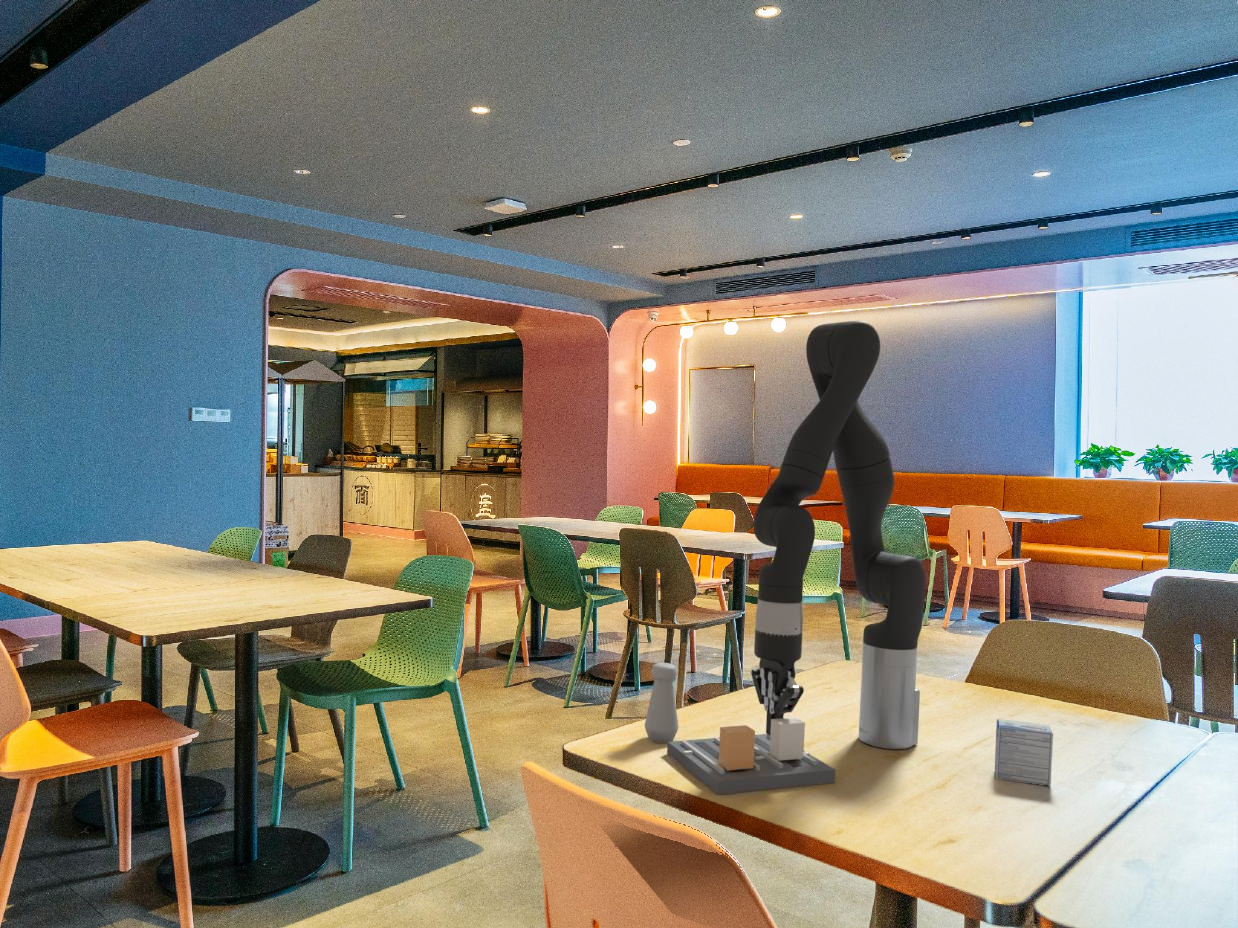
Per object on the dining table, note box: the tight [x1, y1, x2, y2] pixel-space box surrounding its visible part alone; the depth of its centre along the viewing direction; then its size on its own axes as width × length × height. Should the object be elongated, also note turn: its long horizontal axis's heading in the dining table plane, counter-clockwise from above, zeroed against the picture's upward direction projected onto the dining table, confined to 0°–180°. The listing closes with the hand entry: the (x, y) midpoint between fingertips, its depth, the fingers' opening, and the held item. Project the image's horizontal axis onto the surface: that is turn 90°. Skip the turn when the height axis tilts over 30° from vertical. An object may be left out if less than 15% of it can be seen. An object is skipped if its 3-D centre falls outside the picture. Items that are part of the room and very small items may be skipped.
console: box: [666, 733, 836, 796], centre depth 139 cm, size 20×18×3 cm
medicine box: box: [994, 718, 1054, 787], centre depth 140 cm, size 8×4×9 cm, turn 71°
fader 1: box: [719, 724, 756, 770], centre depth 133 cm, size 4×3×6 cm, turn 111°
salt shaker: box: [644, 662, 680, 744], centre depth 151 cm, size 6×6×13 cm
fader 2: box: [770, 717, 806, 761], centre depth 138 cm, size 4×3×6 cm, turn 111°
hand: (774, 735), depth 142 cm, fingers closed
